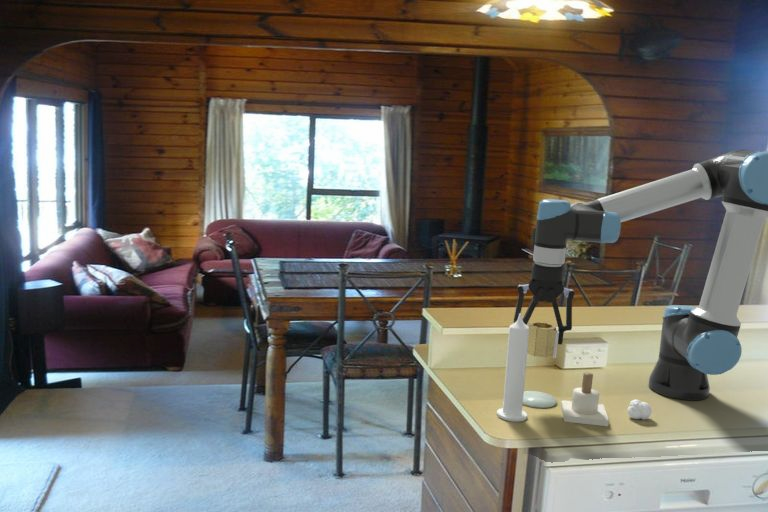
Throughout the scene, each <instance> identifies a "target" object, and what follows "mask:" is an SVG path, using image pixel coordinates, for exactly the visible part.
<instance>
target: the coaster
mask: <svg viewBox="0 0 768 512" xmlns="http://www.w3.org/2000/svg"><path fill="white" fill-rule="evenodd" d="M557 402H558V400H557V398H556V397H555V396H554V395H552V394H549V393H546V392H543V391H536V390H526V391H525V390H524V395H523V405H524V406H525V407H530V408H536V409H547V408H548V409H549V408H553V407H555V406H556V405H557Z"/></svg>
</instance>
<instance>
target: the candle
mask: <svg viewBox="0 0 768 512" xmlns="http://www.w3.org/2000/svg"><path fill="white" fill-rule="evenodd" d="M508 328H509V330H508V339H507V353H506V354H507V355H506V365H505V375H504V376H505V378H504V388H503V389H504V390H503V400H502V401H503V402H502V407H500V408H498V409H497V411H496V415H497V417H498V418H499V419H502V420H504V421H506V422H507V421H508V422H512V423H513V422H515V423H517V422H524V421H526V420H527V419H528V413H527V412H526V411H525V410H523V395H524V391H525V381H526V372H527V371H526V369H527V360H528V353H527V349H528V338H529V327H528V324H527V325H526V324H525V323H524V322H523V314H522V312H521V313H520V314H519V317H518V319H517V321H516V322H515V323H514V322H513V323H512V324H510V325H509V327H508Z"/></svg>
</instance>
